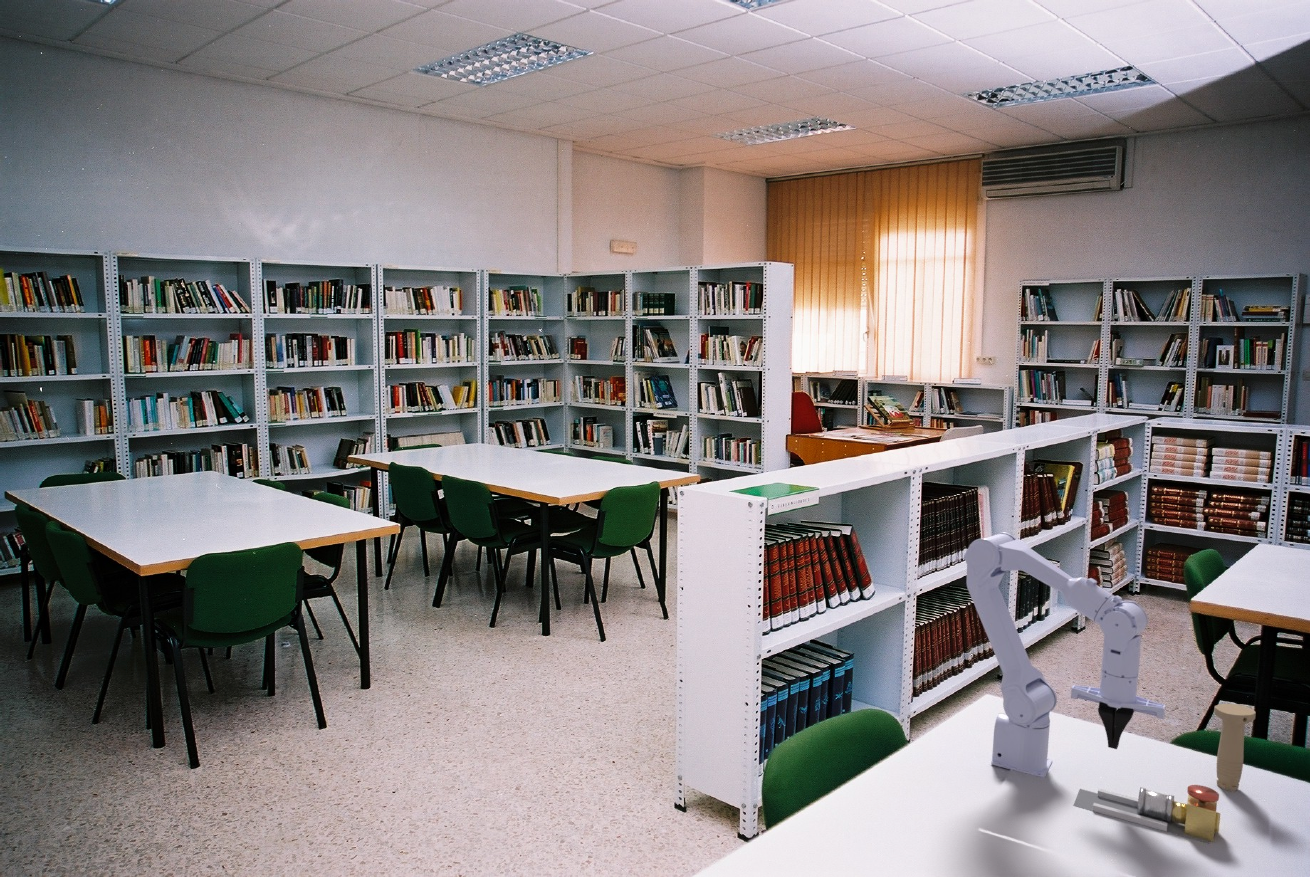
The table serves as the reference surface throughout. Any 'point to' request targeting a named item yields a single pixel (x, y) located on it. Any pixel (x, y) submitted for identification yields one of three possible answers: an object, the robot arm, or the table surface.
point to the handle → (1231, 743)
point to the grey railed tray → (1126, 811)
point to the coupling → (1155, 804)
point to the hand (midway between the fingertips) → (1113, 746)
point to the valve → (1198, 812)
